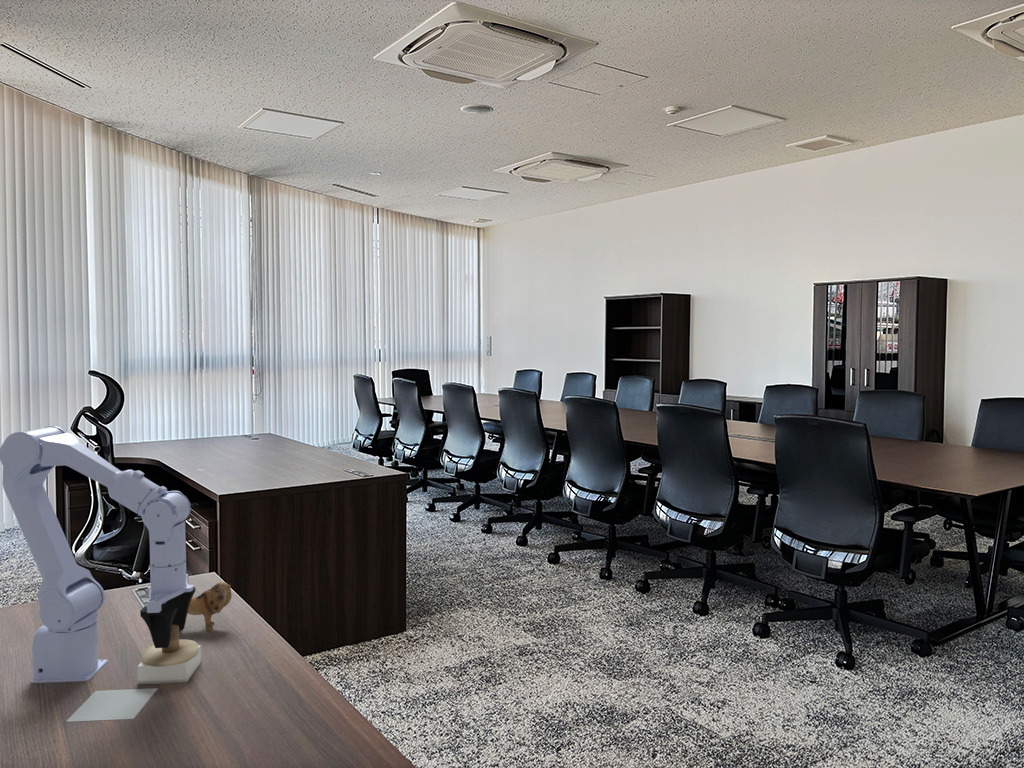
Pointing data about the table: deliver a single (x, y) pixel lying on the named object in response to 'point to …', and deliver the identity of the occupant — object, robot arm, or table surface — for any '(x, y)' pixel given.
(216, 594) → the lion figurine
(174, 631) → the lid
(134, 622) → the table surface
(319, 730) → the table surface
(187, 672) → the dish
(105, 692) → the mat
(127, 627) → the table surface
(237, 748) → the table surface
